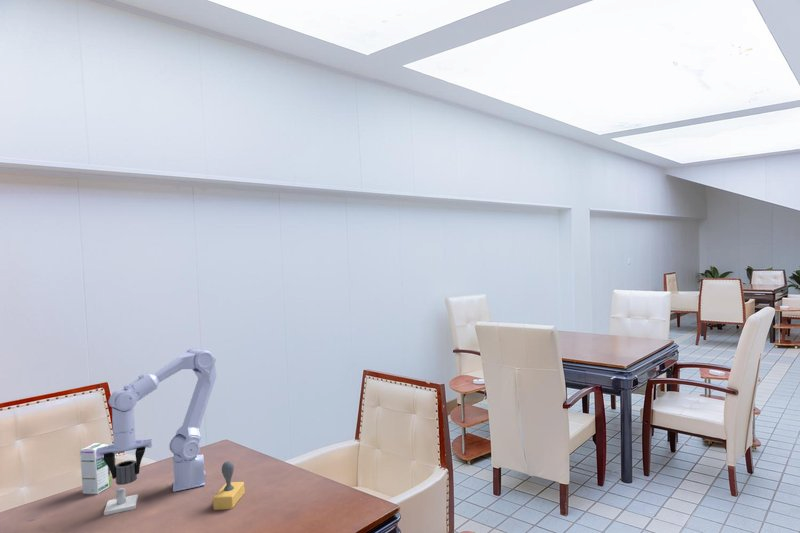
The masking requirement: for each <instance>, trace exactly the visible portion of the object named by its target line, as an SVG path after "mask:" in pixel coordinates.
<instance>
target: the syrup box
mask: <svg viewBox="0 0 800 533" xmlns="http://www.w3.org/2000/svg"><path fill="white" fill-rule="evenodd" d="M106 446H109V443H106V442H97V443H96V442H94V443H92V444H90V445H88V446H86V447H84V448H81V449H79V457H80V472H81V483H82V484H81V485H82V493H83V494H85V495H99V494H100V493H102V492H103V491H105V490H107V489H109V488H110V487H112V480H111V478H112V477H111V471H110V469H109V467H108V466H107V464H106V463H105V461H104V459H103V458H104V455H101V456H99V457H96V450H97V448H102V447H106Z"/></svg>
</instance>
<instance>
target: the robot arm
mask: <svg viewBox="0 0 800 533" xmlns="http://www.w3.org/2000/svg"><path fill="white" fill-rule="evenodd" d="M215 364H216V357H215V356H214V354H213V353H212V352H211V351H210V350H205V349H204V350H203V349H198V348H196V347H191V348H189V349H187V350H186V351H184V352H181V353H180V354H179V356H177V357H176V358H174V359H172V360H171V361H170V362H168V363H166V364H165V365H164V366H163V367H161V368H160V369H158V370H157V371H155V372H154V373H152V374H151V373H146V374H142V373H141V374H140V375H138V378H137V379H136V380H134V381H133V382H131V383H129V384H124V385H123V388H120V389H117V390H114V391H113V392H112V393H111V395H110V396H109V398H108V401H107V402H108V404H109V407H111V415H112V418H111V420H112V439H113V443H112V444H109V445H108V446H106V447H102V448H97V450H96V457H99V456H101V455H104V458H103V459H104V461H105V463H106V464H107V466H108V467H109V469H110V475H111V478H112V480H114V479H115V480H116V477H115V466H116V457H115V456H116V454H118V453H122V452H128V451H133V450H134V451H135V453H134V454H135V461H136V474H137V475H139V474H140V467H141V462H142V460H143V457H144V454H145V453H146V452H145V451H146V448H147V449H148V448H152V447H153V439H151V438H150V439H140V440H136V427H135V412H134V411H135V410H134V407H135V406H136V405H137V402H139V401H140V400H142V399H143V398H145V397H147V396H148V395H149V394H151V393H152V392H154V391H156V390H157V389H158V386H159V384H160V383H161V382H163V381H164V380H167V379H168V378H170V377H172V376H173V375H175V374H177V373H178V372H180V371H181V370H192V371H193V373H194V374H195V375H196V377H197V381H196V384H195V387H194V389H193V393H192V396H191V399H190V402H189V405H188V408H187V411H186V414H185V417H184V419H183V423H182V425H181V426H180V427H179V428H178V429H177V430H176V431H175V435H174V437H173V438H171V440H170V442H169V446H168V447H169V450H170V452H171V453H172V454H173V457H172V460H173V461H172V462H173V463H172V464H173V483H172V484H173V485H172V492H175V493H176V492H179V491H184V490H189V489H193V488H198V487H203V486H205V485H206V480H205V479H206V470H205V463H204V462H205V460H204V459H205V458H204V454H199V453H200V449H201V446H200V445H201V444H200V442H201V438H202V436H201V432H200V427H201V424H202V421H203V418H204V416H205V412H206V409H207V406H208V403H209V400H210V397H211V394H212V392H213V387H214V385H215V382H216V379H217V371H216V365H215Z"/></svg>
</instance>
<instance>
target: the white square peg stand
mask: <svg viewBox="0 0 800 533" xmlns="http://www.w3.org/2000/svg"><path fill="white" fill-rule="evenodd" d="M115 495H116V498H113V499H109V500H107V501H106V502H107V503H106V505H105V508H104V510H103V516H108V515H112V514H118V513H122V512H127V511H131V510H136V506H137V504H138V498H139V494H133V495H132V494H131V495H129V496H128V495H127V496H126V488H125V487H121V488H117V489H115Z"/></svg>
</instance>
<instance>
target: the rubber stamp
mask: <svg viewBox="0 0 800 533" xmlns="http://www.w3.org/2000/svg"><path fill="white" fill-rule="evenodd" d="M234 469H235V466H234V463H233V462H232V461H229V460H227V461H225V462H224V463H223V464H222V466H221V473H222V476H223V478H224V480H225V484H224V485H223V486H222V487H221V488H220V489H219V491H217V493H216V494H215V495H214V496H213V498H212V501H213V502H212V504H213V510H217V511H218V510H232V509H233V508H234V507H235V505H236V504H237V503H238V502H239V501H240V499H241V498H242V497H243V496H244V495H245V493H246V492H245V482H244V481H232V477H233V474H234V471H235V470H234Z"/></svg>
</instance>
